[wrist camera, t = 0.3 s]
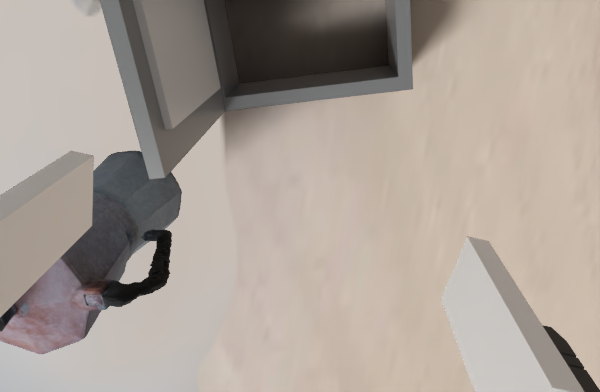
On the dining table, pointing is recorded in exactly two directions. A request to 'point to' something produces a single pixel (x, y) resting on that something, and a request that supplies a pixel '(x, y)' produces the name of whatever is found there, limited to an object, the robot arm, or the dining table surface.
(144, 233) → the moka pot
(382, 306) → the dining table surface
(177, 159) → the case
